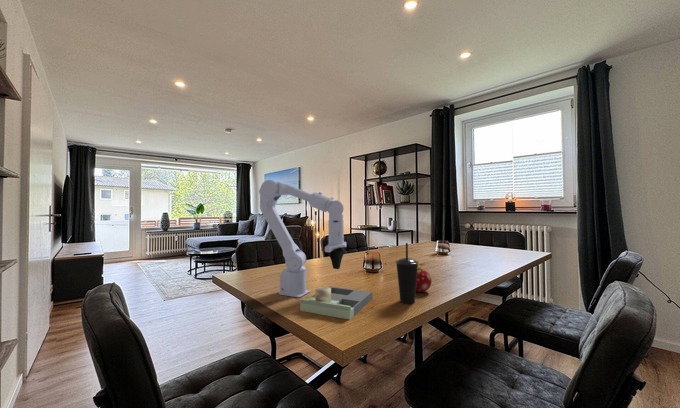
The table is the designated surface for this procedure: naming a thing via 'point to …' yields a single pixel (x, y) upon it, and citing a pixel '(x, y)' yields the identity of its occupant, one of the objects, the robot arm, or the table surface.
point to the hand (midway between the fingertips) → (336, 268)
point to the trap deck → (338, 303)
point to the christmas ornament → (422, 280)
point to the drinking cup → (407, 278)
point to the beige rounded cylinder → (323, 294)
